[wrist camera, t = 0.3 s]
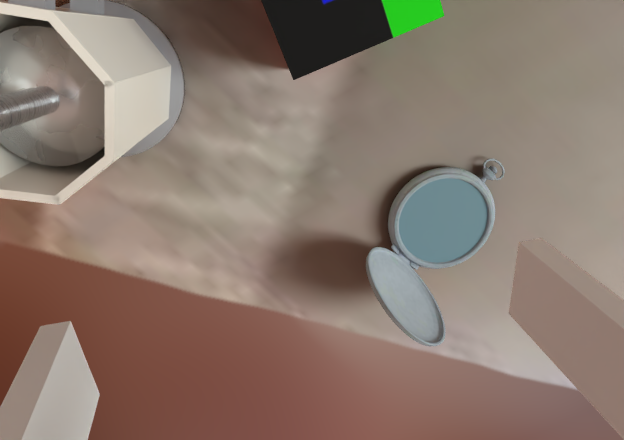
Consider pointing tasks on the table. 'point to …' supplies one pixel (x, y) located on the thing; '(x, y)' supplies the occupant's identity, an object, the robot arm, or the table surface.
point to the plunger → (48, 99)
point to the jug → (118, 89)
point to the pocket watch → (429, 244)
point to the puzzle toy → (341, 27)
